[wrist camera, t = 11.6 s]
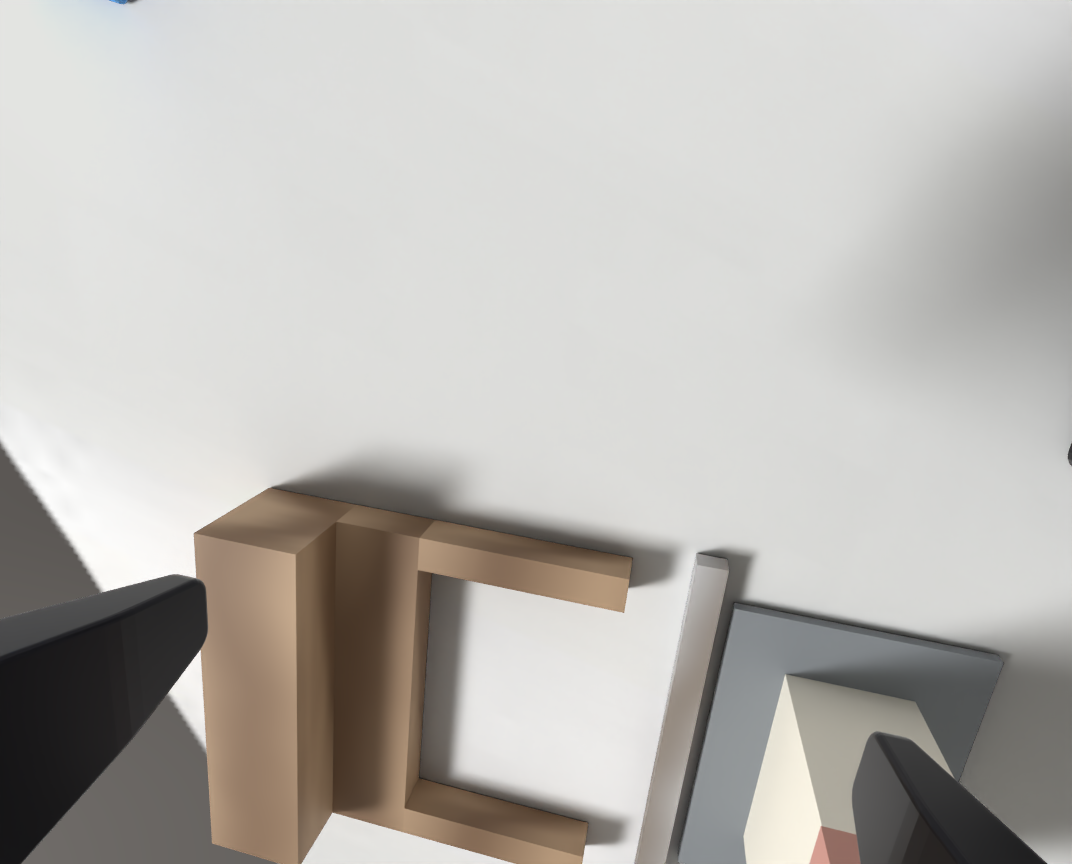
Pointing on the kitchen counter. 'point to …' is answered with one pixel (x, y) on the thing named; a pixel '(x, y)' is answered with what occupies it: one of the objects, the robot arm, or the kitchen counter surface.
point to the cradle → (388, 675)
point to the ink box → (120, 1)
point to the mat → (827, 656)
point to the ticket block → (821, 770)
